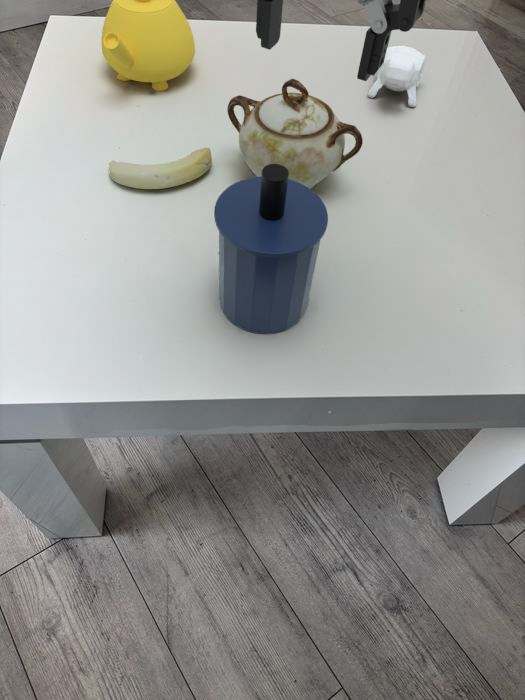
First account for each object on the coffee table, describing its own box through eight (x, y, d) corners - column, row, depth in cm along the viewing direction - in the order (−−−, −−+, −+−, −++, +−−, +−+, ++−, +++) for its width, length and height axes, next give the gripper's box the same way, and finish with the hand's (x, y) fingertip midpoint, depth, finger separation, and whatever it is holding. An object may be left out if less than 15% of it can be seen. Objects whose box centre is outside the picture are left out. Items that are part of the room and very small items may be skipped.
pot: (320, 288, 69) (339, 205, 58) (282, 348, 64) (295, 268, 53) (246, 256, 72) (250, 170, 61) (203, 311, 66) (200, 227, 55)
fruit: (217, 190, 79) (217, 171, 76) (111, 198, 77) (107, 178, 74) (210, 159, 83) (210, 140, 80) (109, 166, 81) (105, 146, 78)
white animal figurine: (371, 90, 103) (363, 101, 90) (384, 40, 98) (378, 43, 86) (416, 101, 102) (414, 113, 89) (431, 50, 97) (431, 55, 84)
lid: (343, 209, 59) (355, 160, 54) (297, 278, 53) (305, 230, 48) (247, 172, 62) (250, 122, 56) (192, 234, 55) (190, 184, 50)
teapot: (160, 119, 88) (151, 30, 77) (75, 95, 90) (54, 5, 79) (209, 62, 99) (208, -23, 88) (133, 42, 101) (122, -44, 90)
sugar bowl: (206, 187, 79) (203, 88, 67) (246, 133, 87) (250, 36, 75) (333, 228, 76) (355, 132, 64) (363, 168, 84) (387, 73, 72)
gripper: (215, -239, 30) (217, 54, 44) (460, -191, 27) (382, 109, 41) (275, -256, 34) (260, 18, 48) (495, -215, 31) (414, 66, 45)
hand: (317, 60), depth 44 cm, fingers open, 8 cm apart
